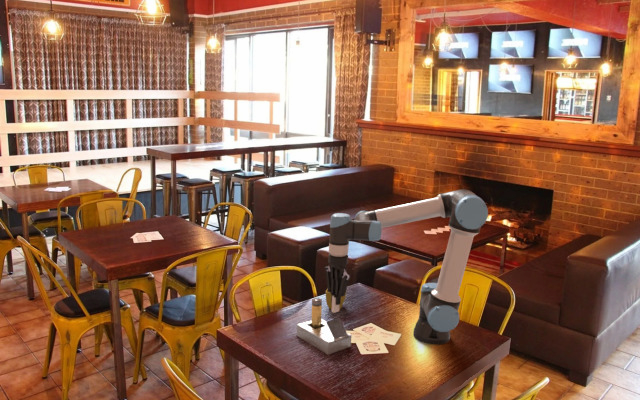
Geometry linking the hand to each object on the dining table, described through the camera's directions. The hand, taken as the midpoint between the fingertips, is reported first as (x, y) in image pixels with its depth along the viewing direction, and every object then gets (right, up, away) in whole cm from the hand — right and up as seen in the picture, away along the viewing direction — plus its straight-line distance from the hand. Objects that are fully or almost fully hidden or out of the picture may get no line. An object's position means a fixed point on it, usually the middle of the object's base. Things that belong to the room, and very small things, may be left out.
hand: (335, 311), depth 222 cm
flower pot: (+1, -7, +42) cm, 43 cm away
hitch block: (-5, -14, +8) cm, 16 cm away
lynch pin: (-8, -13, +12) cm, 19 cm away
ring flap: (+1, -8, +1) cm, 8 cm away
